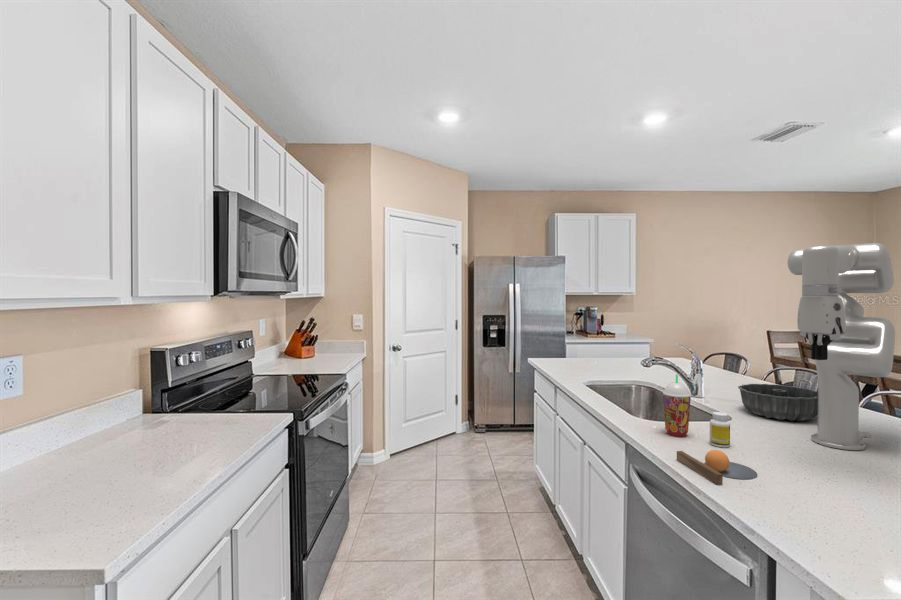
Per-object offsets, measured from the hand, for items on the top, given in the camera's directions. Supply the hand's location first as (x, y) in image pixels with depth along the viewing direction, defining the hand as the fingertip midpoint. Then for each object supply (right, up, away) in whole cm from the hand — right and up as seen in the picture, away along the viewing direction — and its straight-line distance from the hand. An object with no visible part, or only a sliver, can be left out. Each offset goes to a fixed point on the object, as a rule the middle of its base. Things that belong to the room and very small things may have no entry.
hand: (819, 359), depth 117 cm
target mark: (-26, -29, -2) cm, 39 cm away
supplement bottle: (-17, -29, +17) cm, 38 cm away
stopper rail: (-35, -29, -3) cm, 46 cm away
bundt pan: (+27, -29, +49) cm, 63 cm away
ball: (-30, -27, -3) cm, 40 cm away
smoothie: (-25, -29, +27) cm, 47 cm away
